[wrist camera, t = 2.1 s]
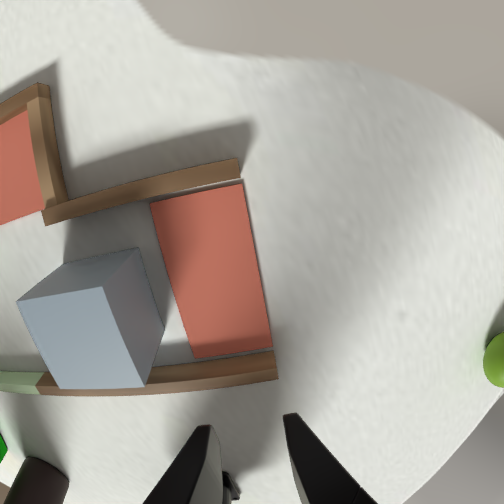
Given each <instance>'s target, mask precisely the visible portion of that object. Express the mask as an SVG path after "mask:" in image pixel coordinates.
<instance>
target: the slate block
mask: <svg viewBox="0 0 504 504" xmlns="http://www.w3.org/2000/svg"><path fill="white" fill-rule="evenodd" d="M16 303H17V306H18V308H19V310H20V313H21V315H22V317H23V319H24V322H25V324H26V326H27V328H28V330H29V332H30V335H31V337H32V339H33V341H34V343H35V345H36V347H37V349H38V351H39V352H40V354H41V356H42V358H43V360H44V362H45V364H46V366H47V367H48V369H49V371H50V373H51V374H52V376H53V378H54V380H55V381H56V383H57V385H58V386H59V388H60V389H118V388H139V387H145V385H146V382H147V379H148V376H149V373H150V370H151V368H152V365H153V362H154V359H155V356H156V353H157V351H158V348H159V345H160V342H161V339H162V337H163V334H164V331H165V329H164V326H163V324H162V321H161V318H160V315H159V312H158V309H157V306H156V303H155V300H154V297H153V294H152V291H151V288H150V285H149V281H148V278H147V275H146V272H145V268H144V265H143V262H142V258H141V255H140V252H139V248H133V249H128V250H124V251H119V252H114V253H110V254H105V255H101V256H96V257H92V258H87V259H83V260H79V261H74V262H70V263H65V264H62V265H61V266H60V267H58V268H57V269H56V270H55V271H53V272H52V273H51V274H49V275H48V276H47V277H46V278H44V279H43V280H42V281H40V282H39V283H38V284H37V285H35V286H34V287H33V288H32V289H31V290H29V291H28V292H27V293H26V294H24V295H23V296H22V297H21V298H20V299H18V300H17V301H16Z"/></svg>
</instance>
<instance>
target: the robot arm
mask: <svg viewBox="0 0 504 504" xmlns="http://www.w3.org/2000/svg"><path fill="white" fill-rule="evenodd" d="M283 422H284V428H285V435H286V441H287V447H288V452H289V457H290V462H291V467H292V472H293V477H294V481H295V484H296V487H297V490H298V494H299V497H300V500H301V502H302V504H378V503H377V502H376V501H375V500H374V499H373V498H372V497H371V496H370V495H369V494H368V493H367V492H366V491H365V490H364V489H363V488H362V487H361V488H360V485H359V484H358V483H357V481H356V480H355V479H354V478H353V477H352V476H351V475H350V474H349V473H348V472H347V470H346V469H345V468H344V467H343V466H342V465H341V464H340V463H339V461H338V460H337V459H336V458H335V457H334V456H333V455H332V453H331V452H330V451H329V450H328V449H327V448H326V447H325V445H324V444H323V443H322V442H321V441H320V440H319V438H318V437H317V436H316V435H315V434H314V432H313V431H312V430H311V429H310V428H309V427H308V425H307V424H306V423H305V422H304V421H303V419H302V418H301V417H300V416H299V415H298V414H297V413H290V414H285V415H283ZM239 499H240V495H239V493H238V491H237V490H236V488H235V486H234V484H233V482H232V480H231V478H230V476H229V474H228V473H226V472H222V467H221V453H220V443H219V440H218V437H217V435H216V433H215V431H214V428H213V427H212V425H200V426H198V427H197V428H196V429H195V431H194V432H193V433H192V435H191V436H190V438H189V439H188V441H187V442H186V444H185V445H184V447H183V448H182V449H181V451H180V452H179V454H178V455H177V457H176V458H175V459H174V461H173V462H172V464H171V465H170V467H169V468H168V469H167V471H166V472H165V474H164V475H163V476H162V478H161V479H160V480H159V482H158V483H157V485H156V486H155V487H154V489H153V490H152V491H151V493H150V494H149V496H148V497H147V498H146V500H145V501H144V502H143V504H231V501H232V500H239Z"/></svg>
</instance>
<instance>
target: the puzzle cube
mask: <svg viewBox="0 0 504 504" xmlns="http://www.w3.org/2000/svg"><path fill="white" fill-rule="evenodd" d="M7 451H8V450H7V447H6V445H5V443H4V441H3V439H2V437H1V434H0V463H1V461H2V460H3V458H4V456H5V454H6V452H7Z"/></svg>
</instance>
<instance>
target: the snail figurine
mask: <svg viewBox="0 0 504 504" xmlns="http://www.w3.org/2000/svg"><path fill="white" fill-rule="evenodd" d="M483 368H484V372H485V375H486V377H487V379H488V380H489V381H490V382H491V383H492V384H494V385H495V386H498V387H502V388H504V332H502V333H500V334H498V335H497V336H496V337H494V338H493V339H492V341H491V342H490V343H489V345H488V346H487V348H486V351H485V354H484V358H483Z"/></svg>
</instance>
